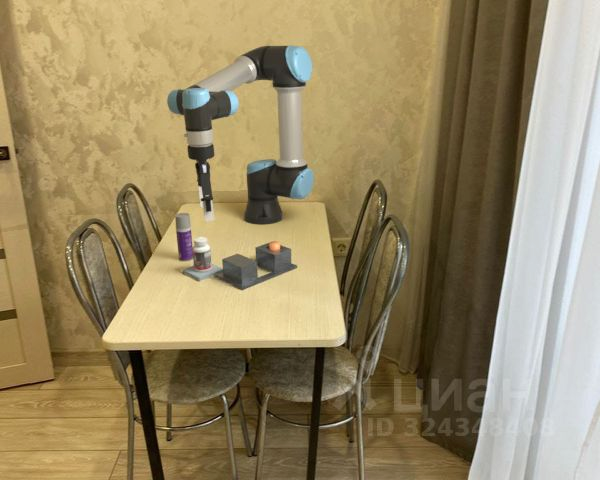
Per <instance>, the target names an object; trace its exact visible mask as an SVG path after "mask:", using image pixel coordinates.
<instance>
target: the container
mask: <svg viewBox="0 0 600 480" xmlns="http://www.w3.org/2000/svg"><path fill="white" fill-rule="evenodd" d="M174 216H175V219H174V221H175V233H176V242H177V253H178V260H179V261H180V262H191V261H192V260H193V251H192V249H193V239H192V238H193V237H192V235H193V234H192V224H191V218H190V217H191V216H190V214H189V213H187V212H181V213H177V214H175V215H174Z"/></svg>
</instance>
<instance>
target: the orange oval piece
mask: <svg viewBox="0 0 600 480" xmlns="http://www.w3.org/2000/svg"><path fill="white" fill-rule="evenodd" d="M268 243H269V249H270V250H272V251H276V250H279V249H280V245H281V242H280V241H276V240H274V241H269V242H268Z"/></svg>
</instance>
